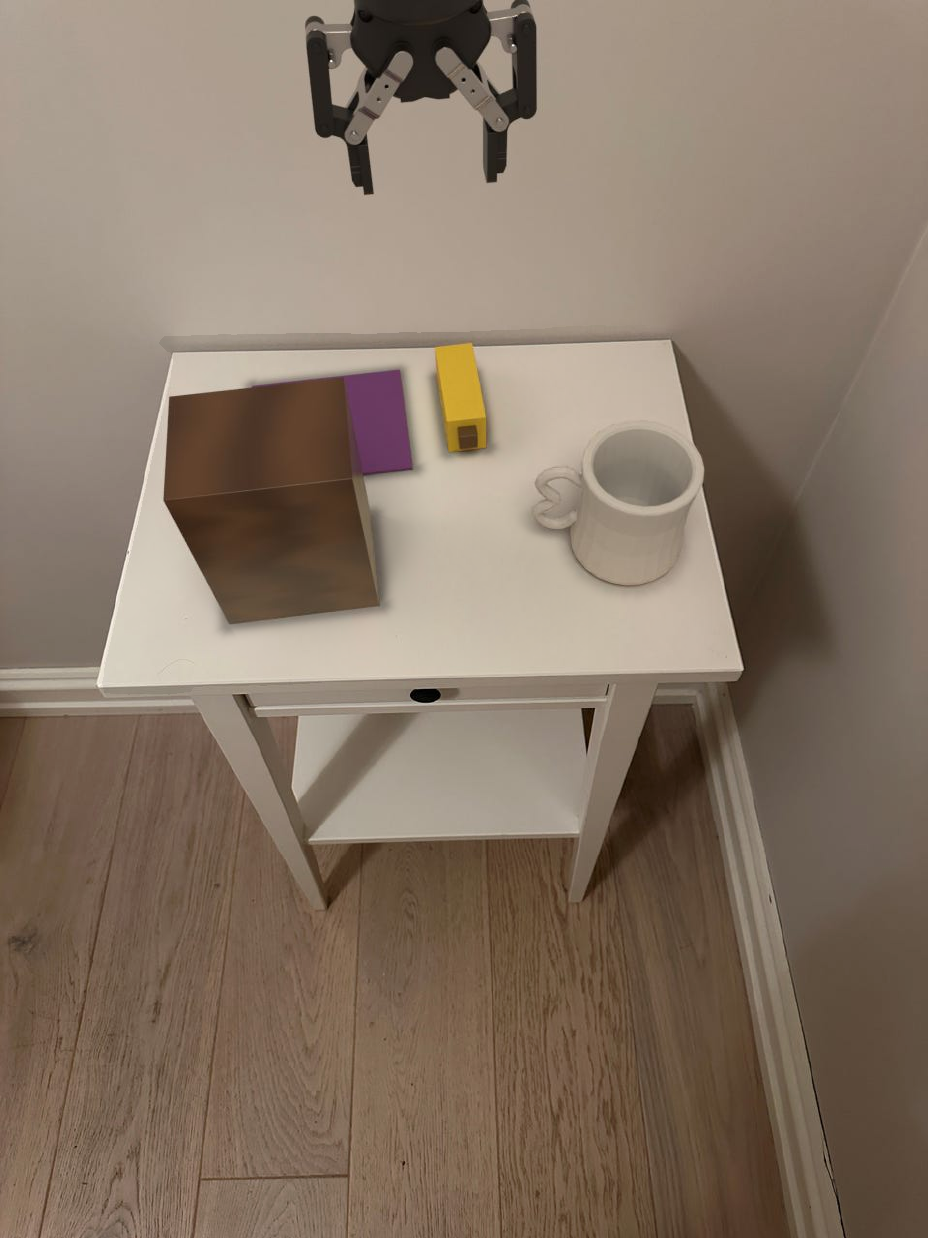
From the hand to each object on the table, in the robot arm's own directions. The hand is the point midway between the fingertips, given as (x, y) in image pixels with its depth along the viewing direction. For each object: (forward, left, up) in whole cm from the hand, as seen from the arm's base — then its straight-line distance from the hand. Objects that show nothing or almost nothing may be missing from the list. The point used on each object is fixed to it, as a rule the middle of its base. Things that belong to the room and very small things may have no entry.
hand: (428, 181), depth 60 cm
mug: (+12, -17, -22) cm, 30 cm away
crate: (-13, -16, -22) cm, 30 cm away
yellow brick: (+2, -1, -22) cm, 22 cm away
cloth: (-10, -1, -22) cm, 25 cm away
